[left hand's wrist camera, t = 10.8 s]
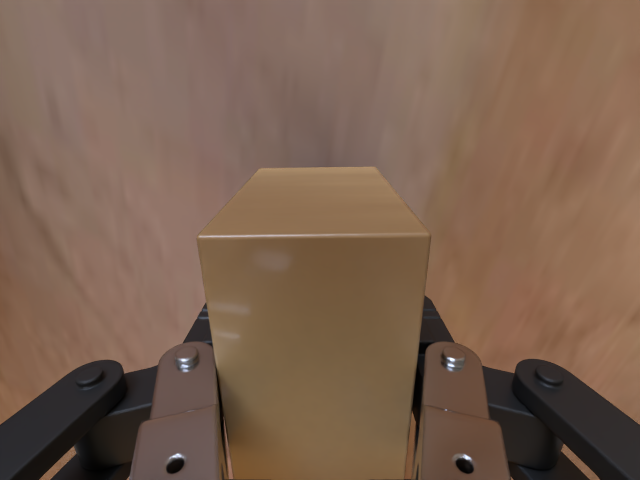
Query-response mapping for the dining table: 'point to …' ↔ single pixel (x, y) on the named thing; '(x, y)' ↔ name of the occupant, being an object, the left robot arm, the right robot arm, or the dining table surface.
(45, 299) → the dining table surface
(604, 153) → the dining table surface
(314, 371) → the bar
